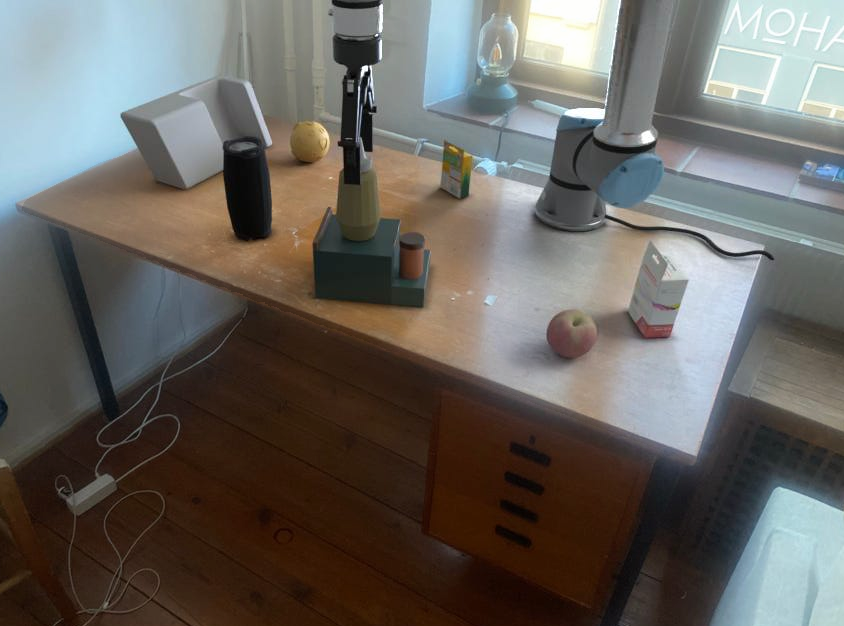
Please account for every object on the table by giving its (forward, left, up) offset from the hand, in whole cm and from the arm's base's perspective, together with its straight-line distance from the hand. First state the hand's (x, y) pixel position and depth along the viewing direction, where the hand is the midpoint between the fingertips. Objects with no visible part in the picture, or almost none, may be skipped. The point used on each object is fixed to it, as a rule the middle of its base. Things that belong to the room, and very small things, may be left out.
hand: (359, 166), depth 121 cm
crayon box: (-16, -42, -23) cm, 50 cm away
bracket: (+45, -46, -23) cm, 68 cm away
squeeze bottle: (0, 0, -13) cm, 13 cm away
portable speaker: (+25, -15, -23) cm, 37 cm away
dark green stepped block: (-3, 0, -23) cm, 23 cm away
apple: (-38, +17, -23) cm, 47 cm away
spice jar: (-10, +2, -19) cm, 21 cm away
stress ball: (+21, -54, -23) cm, 62 cm away
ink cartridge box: (-53, +6, -23) cm, 58 cm away
